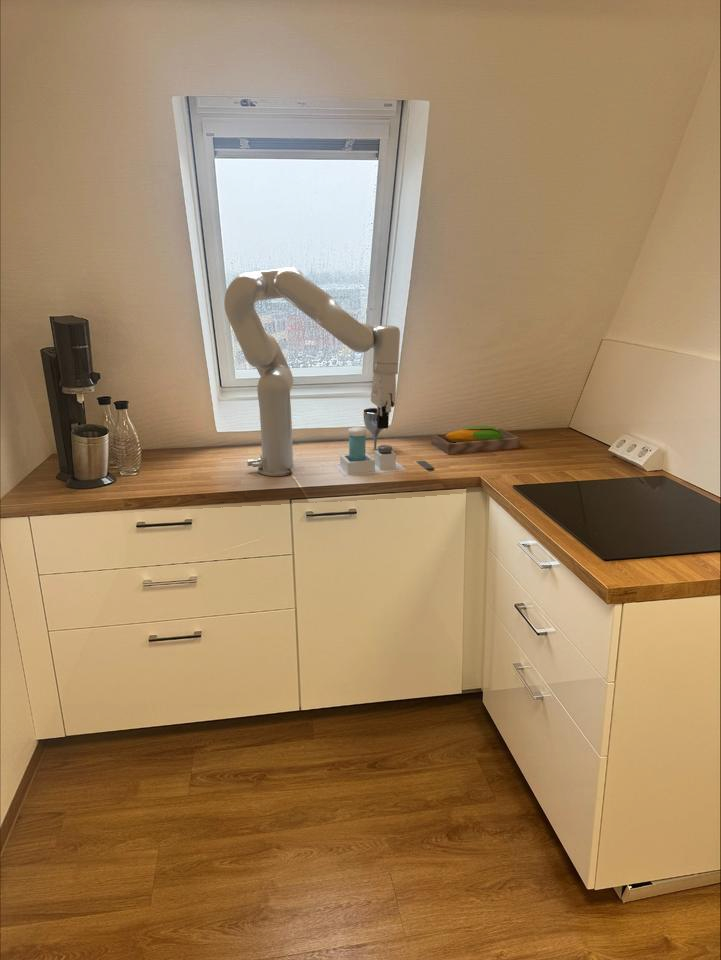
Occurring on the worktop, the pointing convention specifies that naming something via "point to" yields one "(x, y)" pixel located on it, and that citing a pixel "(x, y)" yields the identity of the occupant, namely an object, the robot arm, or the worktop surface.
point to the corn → (474, 434)
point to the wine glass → (372, 423)
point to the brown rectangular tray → (476, 443)
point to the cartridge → (356, 444)
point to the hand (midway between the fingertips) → (382, 427)
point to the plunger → (385, 449)
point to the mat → (425, 465)
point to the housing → (369, 464)
